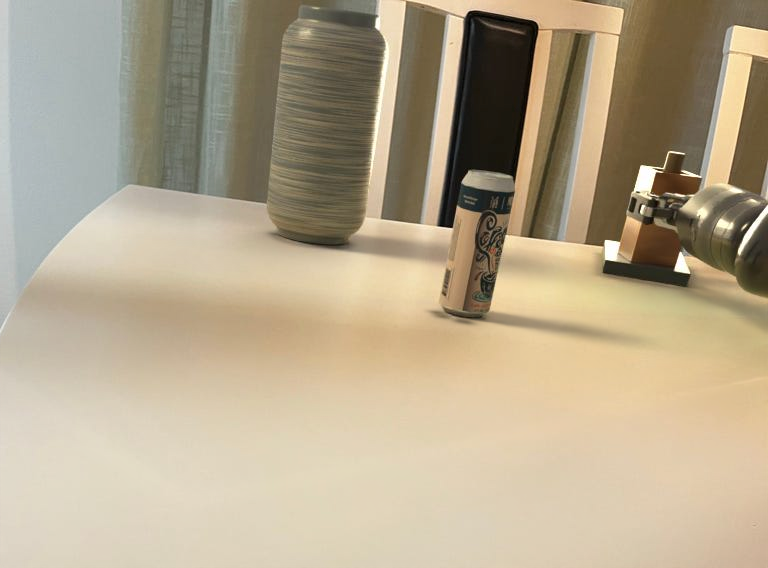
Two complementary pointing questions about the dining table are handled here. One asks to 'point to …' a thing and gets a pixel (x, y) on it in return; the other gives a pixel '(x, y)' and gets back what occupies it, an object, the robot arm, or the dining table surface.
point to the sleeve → (651, 239)
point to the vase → (326, 124)
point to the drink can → (477, 242)
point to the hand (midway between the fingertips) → (675, 204)
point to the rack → (657, 273)
